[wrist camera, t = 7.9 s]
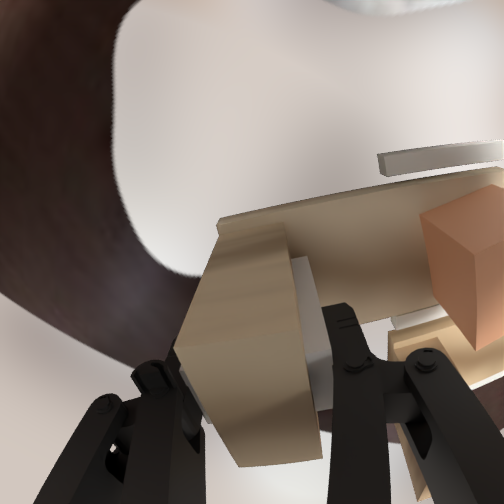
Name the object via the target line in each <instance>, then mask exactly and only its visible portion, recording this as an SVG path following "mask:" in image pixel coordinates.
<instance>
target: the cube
mask: <svg viewBox="0 0 504 504" xmlns="http://www.w3.org/2000/svg"><path fill="white" fill-rule="evenodd" d="M419 217H420V221H421V226H422V230H423V235H424V240H425V245H426V251H427V256H428V262H429V268H430V274H431V281H432V288H433V296H434V298H435V299H436V300H437V301H438V303H439V304H440V305H441V306H442V308H443V309H444V310H445V311H446V313H447V314H448V315H449V316H450V318H451V319H452V320H453V322H454V323H455V324H456V326H457V327H458V328H459V330H460V331H461V332H462V334H463V335H464V336H465V338H466V339H467V340H468V342H469V343H470V344H471V346H472V347H473V349H474V350H475V351H478V350H480V349H481V348H483V347H485V346H487V345H489V344H490V343H492V342H494V341H495V340H497V339H499V338H501V337H502V336H504V188H501V187H499V186H496V185H493V184H490V185H488V186H486V187H483V188H481V189H479V190H476V191H474V192H472V193H469V194H467V195H465V196H462V197H460V198H458V199H455V200H453V201H450V202H448V203H446V204H443V205H441V206H438V207H436V208H434V209H431V210H429V211H426V212H424V213H421V214H419Z"/></svg>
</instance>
